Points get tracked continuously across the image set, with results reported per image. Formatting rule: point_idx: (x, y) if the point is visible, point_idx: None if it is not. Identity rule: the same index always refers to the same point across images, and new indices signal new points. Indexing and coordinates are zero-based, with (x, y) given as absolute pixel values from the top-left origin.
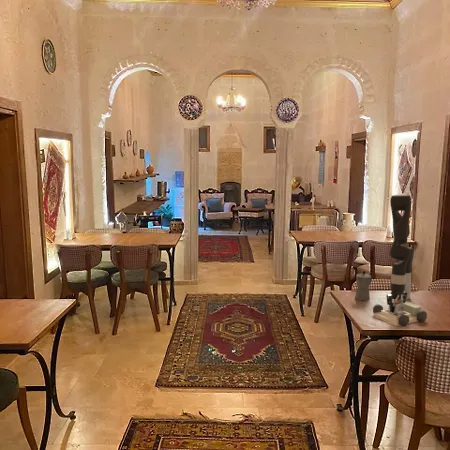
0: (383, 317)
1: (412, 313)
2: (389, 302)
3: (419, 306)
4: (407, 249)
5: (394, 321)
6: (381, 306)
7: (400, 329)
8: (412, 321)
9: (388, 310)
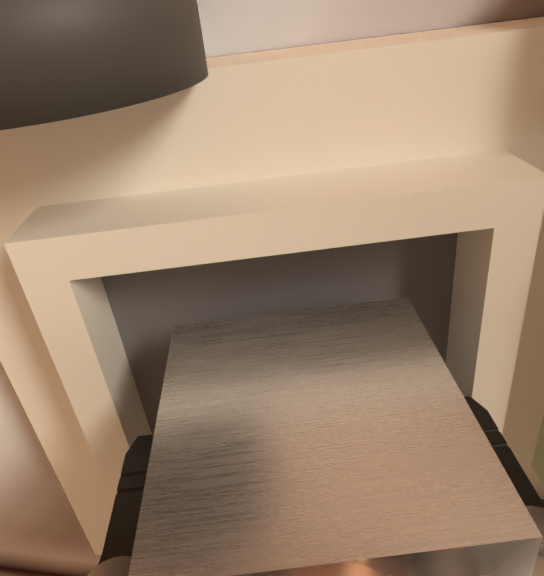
0: (5, 357)
1: None
2: (138, 569)
3: None
4: None
5: (86, 525)
6: (108, 104)
7: (94, 566)
8: None
9: (170, 349)
